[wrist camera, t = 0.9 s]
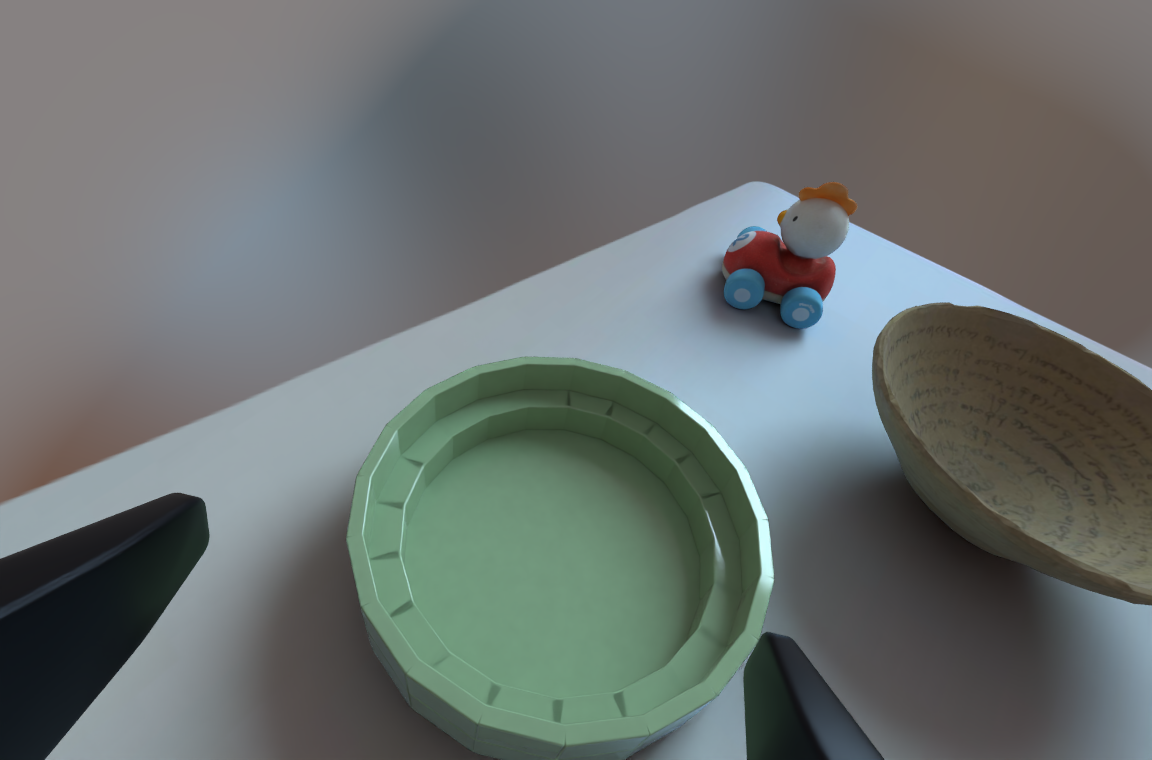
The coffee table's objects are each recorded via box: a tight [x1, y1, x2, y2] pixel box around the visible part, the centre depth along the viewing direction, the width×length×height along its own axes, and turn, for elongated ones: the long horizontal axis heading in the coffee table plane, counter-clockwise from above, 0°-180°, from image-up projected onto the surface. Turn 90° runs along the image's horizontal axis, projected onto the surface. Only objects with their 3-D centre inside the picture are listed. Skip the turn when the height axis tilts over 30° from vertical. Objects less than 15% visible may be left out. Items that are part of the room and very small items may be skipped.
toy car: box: [722, 182, 857, 328], centre depth 42 cm, size 9×9×10 cm
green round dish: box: [346, 357, 774, 760], centre depth 24 cm, size 17×17×4 cm
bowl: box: [872, 303, 1152, 605], centre depth 29 cm, size 18×18×8 cm
